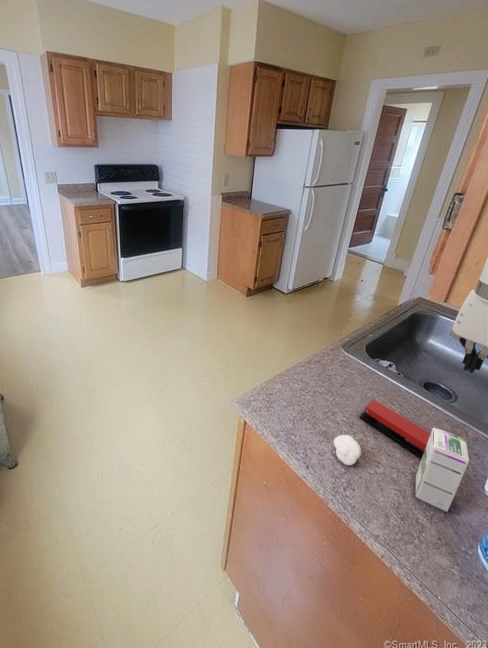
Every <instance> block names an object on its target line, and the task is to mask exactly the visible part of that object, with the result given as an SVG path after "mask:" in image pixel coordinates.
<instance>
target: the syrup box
mask: <svg viewBox="0 0 488 648" xmlns="http://www.w3.org/2000/svg"><path fill="white" fill-rule="evenodd" d="M430 434H431V435H430V437H429V440H428V443H427V445H426V448H425V451H424V454H423V457H422V459H420V463H419V465H418V468H417V470H416V474H415V493H414V494H415V498H417V499H419V500H421V501H422V502H424V503H426V504H429V505H431V506H433V507H435V508H437V509H439V510H442V511H444V512H446V513H448V511H449V510H450V508H451V505H452V503H453V501H454V498H455V496H456V494H457V491H458V489H459V487H460V485H461V481H462V480H463V476H464V475H465V472H466V470H467V468H468V465H469V463H470V458H469V451H468V443H467V439H466V438H463V437H461V436H459V435H457V434H454V433H451V432H449V431H446V430H443V429H441V428H437V427H432V429H431V432H430Z"/></svg>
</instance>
